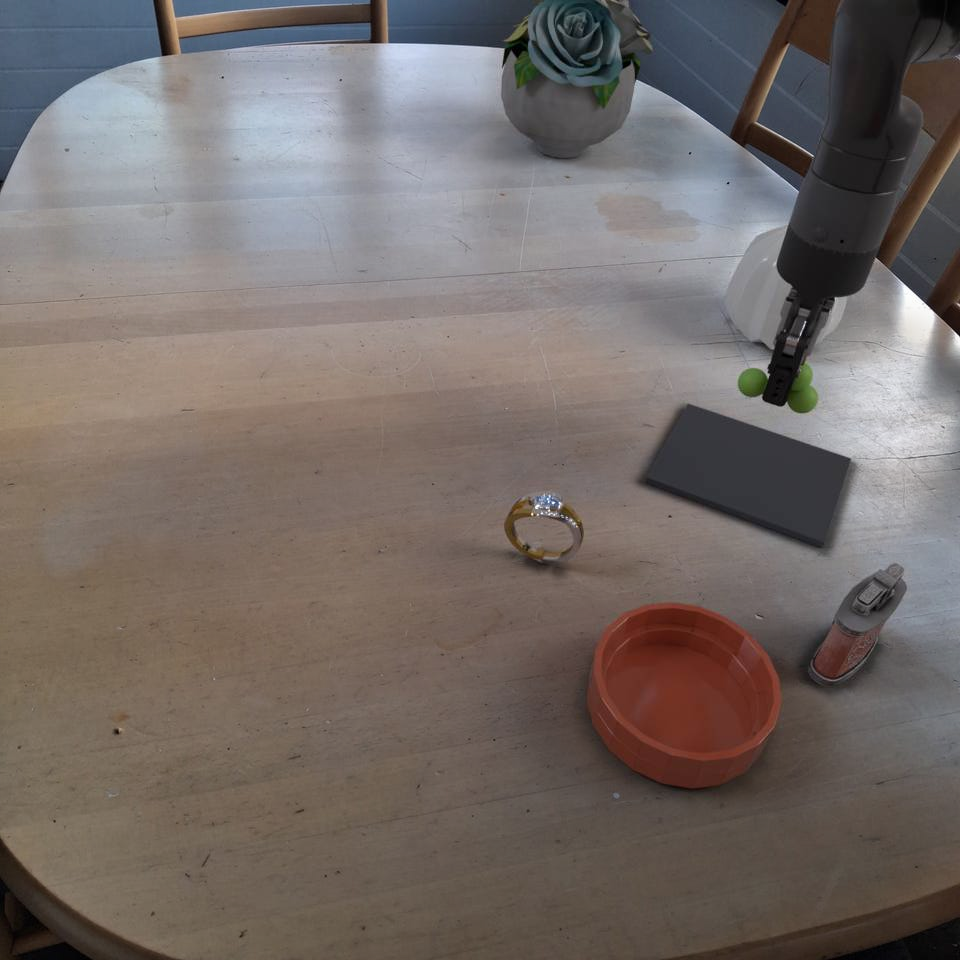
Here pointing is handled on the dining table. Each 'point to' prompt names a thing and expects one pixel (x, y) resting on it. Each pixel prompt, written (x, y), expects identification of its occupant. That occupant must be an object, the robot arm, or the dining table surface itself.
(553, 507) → the ring
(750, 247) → the vase
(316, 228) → the dining table surface
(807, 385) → the grapes
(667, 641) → the bowl
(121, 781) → the dining table surface
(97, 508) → the dining table surface
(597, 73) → the flower arrangement
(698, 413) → the slate board
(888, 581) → the lighter
